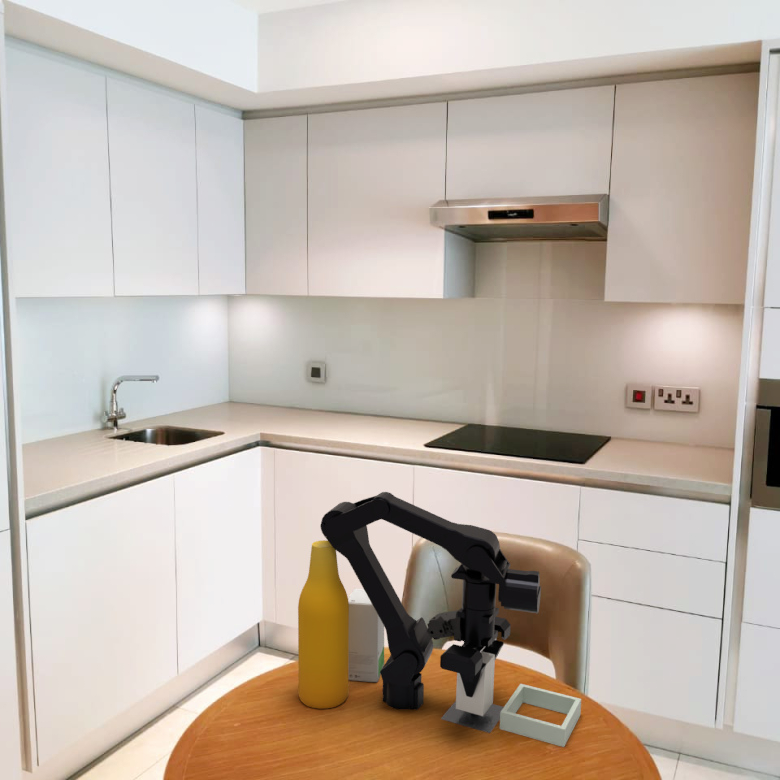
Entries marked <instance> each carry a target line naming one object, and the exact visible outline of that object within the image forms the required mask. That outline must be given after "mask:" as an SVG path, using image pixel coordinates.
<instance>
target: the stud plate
mask: <svg viewBox="0 0 780 780" xmlns="http://www.w3.org/2000/svg"><path fill="white" fill-rule="evenodd" d="M503 708H504V706H503V705H502V706H501V705H497V704H495V703H492V705H491V706H490V707H489V709H488V710H487V711H486V713H485V714H484V715H483V716H480V715H476V714H473V713H469V712H466V711H462V710H459V709H456V700H455V701H454V702H453V703H452V704H451V705H450V707H449V708H448V709H447V710H446V712H445V713H444V714H443V715H442V716H441V718H440V720H443V721H447V722H450V723H452V724H457V725H460V726H463V727H466V728H470V729H473V730H474V729H475V730H477V731H480V732H483V733H484V732H485V733H488V734H491V732H493V730H494V728H495V727H496V725H497V724H498V722H500V712H501V710H502V709H503Z"/></svg>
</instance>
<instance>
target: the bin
mask: <svg viewBox="0 0 780 780" xmlns="http://www.w3.org/2000/svg"><path fill="white" fill-rule="evenodd" d="M522 704H527V705H530V706H534V707H537V708H542V709H546V710H549V711H554V712H558V713H561V714H564V715H566V717H565V718H564V720H563V721H562V724H561V725H559V724H555V723H553V722H548V721H544V720H541V719H536V718H534V717H530V716H527V715H522V714H518V713H517V712H518V711H519V709H520V707H522ZM503 707H504V708H503V709H502V710H501V712H500V720H499V730H502V731H506V732H509V733H512V734H516V735H520V736H524V737H527V738H530V739H534V740H537V741H541V742H545V743H548V744H552V745H554V746H555V745H556V746H558V747H562V748H565V746H566V744H567V743H568V741H569V738H570V737H571V735H572V732H573V731H574V728H575V726H576V725H577V723H578V720H579V719H580V717H581V712H582V711H581V709H582V698H579V697H576V696H571V695H568V694H563V693H559V692H556V691H552V690H547V689H544V688H539V687H535V686H531V685H528V684H524V683H519V685H518V686H517V688H516V689H515V691H514V692H513V693H512V695H511V696H510V698H509V699H508V701H507V702H506V703H505V705H504V706H503Z"/></svg>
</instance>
